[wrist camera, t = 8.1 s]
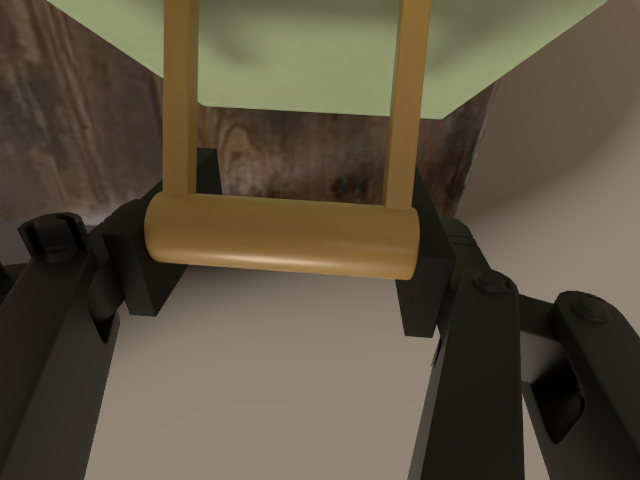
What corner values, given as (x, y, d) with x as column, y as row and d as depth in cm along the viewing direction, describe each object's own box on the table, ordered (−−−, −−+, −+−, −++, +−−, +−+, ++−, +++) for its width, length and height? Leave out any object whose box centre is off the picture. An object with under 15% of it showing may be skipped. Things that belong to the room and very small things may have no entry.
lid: (-108, -144, 7) (-73, 265, 8) (718, -119, 6) (636, 318, 7) (203, 93, 23) (201, 217, 25) (443, 106, 23) (430, 233, 24)
